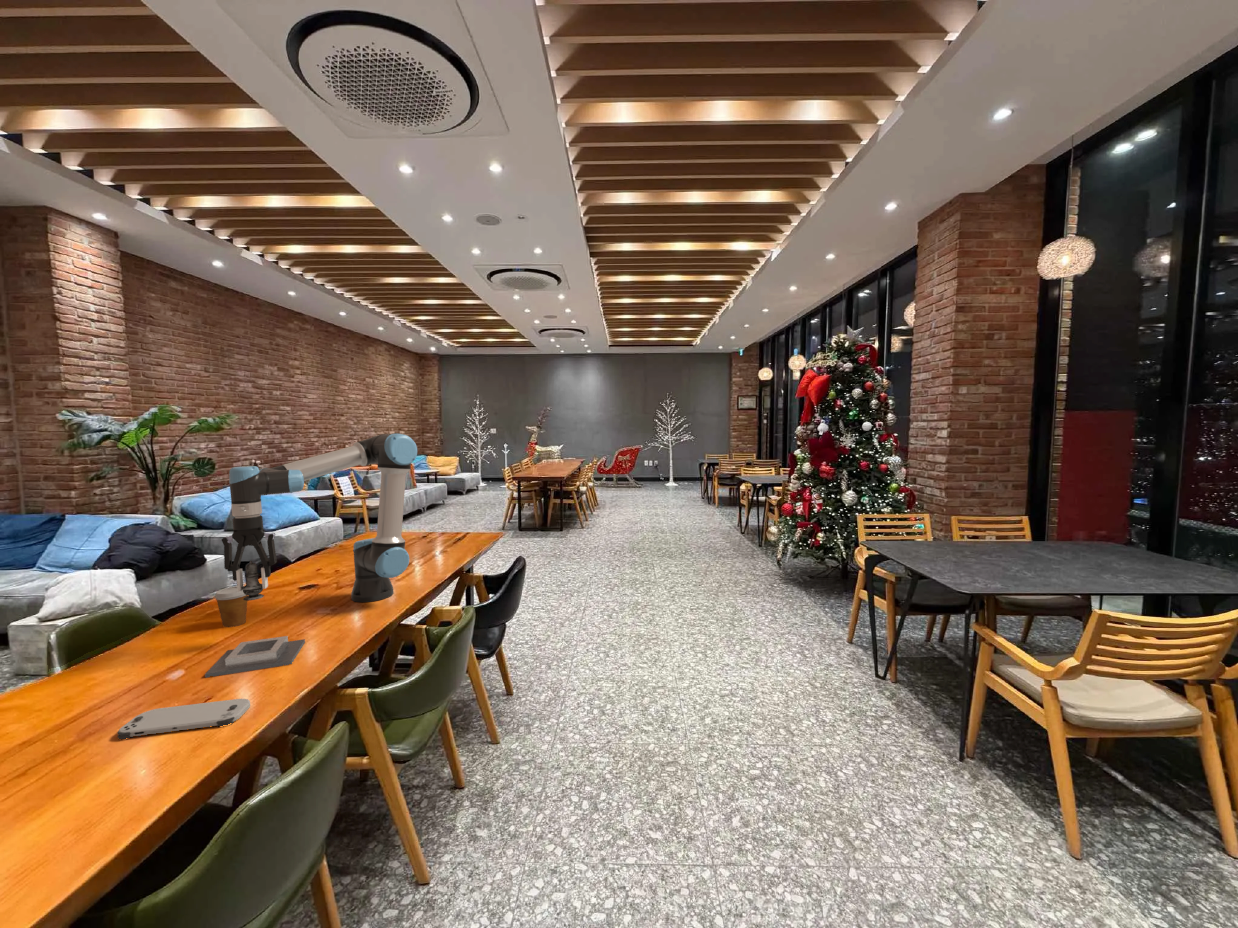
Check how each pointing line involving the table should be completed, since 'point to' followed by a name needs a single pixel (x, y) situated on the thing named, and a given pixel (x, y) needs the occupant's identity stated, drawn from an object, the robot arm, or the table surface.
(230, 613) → the disposable coffee cup
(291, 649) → the collar plate
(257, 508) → the robot arm
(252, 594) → the dark grey chess piece
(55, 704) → the table surface
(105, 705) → the table surface
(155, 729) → the handheld gaming console
